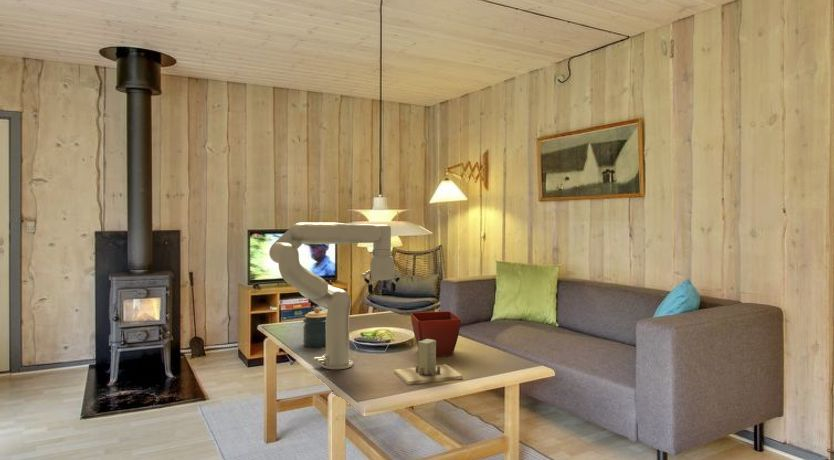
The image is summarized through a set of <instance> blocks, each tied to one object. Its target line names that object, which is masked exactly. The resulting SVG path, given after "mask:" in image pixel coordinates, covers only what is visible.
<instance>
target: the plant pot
mask: <svg viewBox="0 0 834 460" xmlns="http://www.w3.org/2000/svg"><path fill="white" fill-rule="evenodd" d="M410 320H411V325H412V330H413V335H414V338H415V339H414V340H415V341H416V346H417V347H418V342H419V341H422V340H425V339H431V340H436V357H450V356H452V355H454V351H455V348H456V346H457V342H458V338H459V334H460V328H461V322H462V319H461V318H460V317H459V316H458V315H456V314H454V313H453V312H452V311H450V310H447V311H425V312H424V311H423V312H421V311H420V312H410Z"/></svg>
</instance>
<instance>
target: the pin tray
mask: <svg viewBox="0 0 834 460" xmlns="http://www.w3.org/2000/svg"><path fill="white" fill-rule="evenodd" d="M394 374H395V375H397V376H398V378H399V379H400V380H402V381H403V382H404V383H405V384H406V385H407V386H410V385H418V384H426V383H435V382H444V381H455V380H461V379H462V380H463V379H464V378H463V376H464V375H462V374H461V373H460V372H459V371H457V370H456V369H454V368H452V367H450V366H449V365H448V364H445V363H443V364H436V371H434V369H431V373H430V374H427V375H426V374H423V368H420V373H418V364H415V366H414V367H406V368H397V369H394Z"/></svg>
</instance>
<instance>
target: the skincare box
mask: <svg viewBox="0 0 834 460" xmlns="http://www.w3.org/2000/svg"><path fill="white" fill-rule="evenodd" d="M436 361H437V356H436V340H431V339H425V340H422V341H419V342H418V346H417V365H418V373H420V368H423V374H426V375H427V374H430V373H431V369H434V371H436V365H437V362H436Z"/></svg>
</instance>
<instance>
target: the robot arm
mask: <svg viewBox="0 0 834 460" xmlns="http://www.w3.org/2000/svg"><path fill="white" fill-rule="evenodd" d="M369 243H372V244H373V245H372V247H373V248H372V250H370V251H369V254H370V255H372V256H371V259H370V263H369V264H370V266H369V270H367V271H365V272H364V273H361V276H362V278H363V281H365V282H366V284H367V287H368V288H367V292H368V294H370V295H373V293H374V292H373V286H374V285H373V283H374V281H390V282H391V283H390V293H392V294H395V291H396V289H397V288H396V285H397V283H398V281H400V278H401V277H402V275H403V274H402V273H401V272H399V271H398V270H396V269H395V261H394V257H393V256H392V254H391V253H392V227H391V225H389V224H373V223H372V224H371V223H361V224H358V223H357V224H354V223H351V224H350V223H343V222H342V223H341V222H297V223H295V224H294V225H292V226H290V228H289V229H287V230H286V231H285V232H284V234H282V235H281V236H280V237H279V238H277V240H276V241H274V242H273V244H271V246H270V248H269V252H268V253H269V257H270V259H271V261H272V262H274V263H276V264H278V269H279V270H278V271H279V273H280V276H281V278H282V279H283V280H284V281H285V282H286V283H287V284H288V285H290V286H292V287H293V288H294V289H296V290H297V291H298V293H299V294H300V295H301V296H302V297H304V298H306V299H308V300H309V301H311V302H313V303H314V304H316V305H318V306H320V307H322V308H323V309H327V311H326V313H327V316H326V346H325V353H324V354H323V355H321V356H314V357H313V362H314V363H318V364H319V363H321V367H322V368H324V369H328V370H344V369H349V368H352V367H353V365H354V362H353V360H351V359H350V315H351V314H350V313H351V308H352V300H351V296H350V294H349V292H348V291H346V290H345V289H343V288H339V287H336V286H333V285H331V284H329V283H327V280H325V279H324V278H323V277H321V276H320V275H317V274H315V273H314V272H312V271H311V270H308V269H307V268H305V267H304V266H303V265H302V264H301V263H300V255H299V254H300V253H299V250H298V249H299V248H300V247H301V246H302V245H334V244H335V245H336V244H337V245H338V244H341V245H342V244H369ZM395 274H396V275H397V276H396V275H395ZM367 276H369V279H368V277H367ZM395 276H396V277H395Z"/></svg>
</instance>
